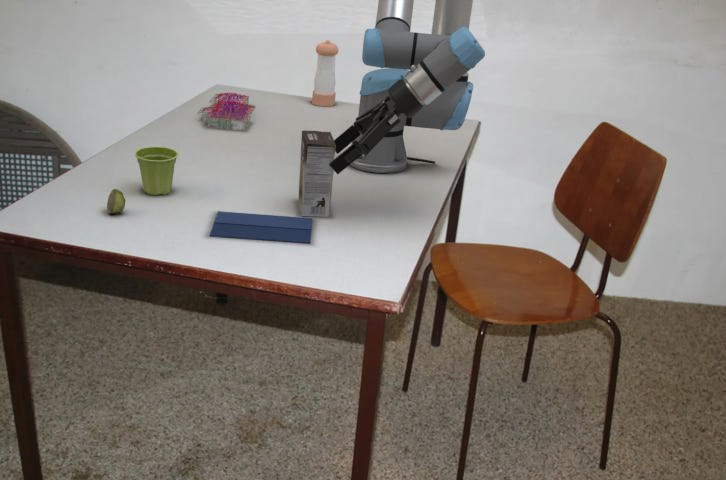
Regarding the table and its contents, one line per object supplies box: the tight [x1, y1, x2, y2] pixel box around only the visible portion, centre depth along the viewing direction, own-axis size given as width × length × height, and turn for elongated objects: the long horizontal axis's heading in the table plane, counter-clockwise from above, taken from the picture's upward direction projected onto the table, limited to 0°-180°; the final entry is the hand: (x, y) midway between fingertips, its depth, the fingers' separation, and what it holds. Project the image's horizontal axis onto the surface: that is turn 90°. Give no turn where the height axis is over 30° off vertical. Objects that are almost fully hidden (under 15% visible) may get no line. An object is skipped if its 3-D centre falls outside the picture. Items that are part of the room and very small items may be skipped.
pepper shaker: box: [311, 39, 340, 107], centre depth 247 cm, size 7×7×19 cm
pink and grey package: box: [196, 91, 256, 131], centre depth 232 cm, size 30×15×5 cm, turn 173°
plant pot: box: [134, 146, 179, 196], centre depth 176 cm, size 9×9×9 cm
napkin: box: [209, 210, 313, 244], centre depth 163 cm, size 20×12×1 cm, turn 87°
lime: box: [106, 188, 126, 215], centre depth 165 cm, size 4×5×5 cm
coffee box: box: [297, 130, 336, 218], centre depth 170 cm, size 9×6×16 cm
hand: (333, 158), depth 168 cm, fingers open, 13 cm apart
